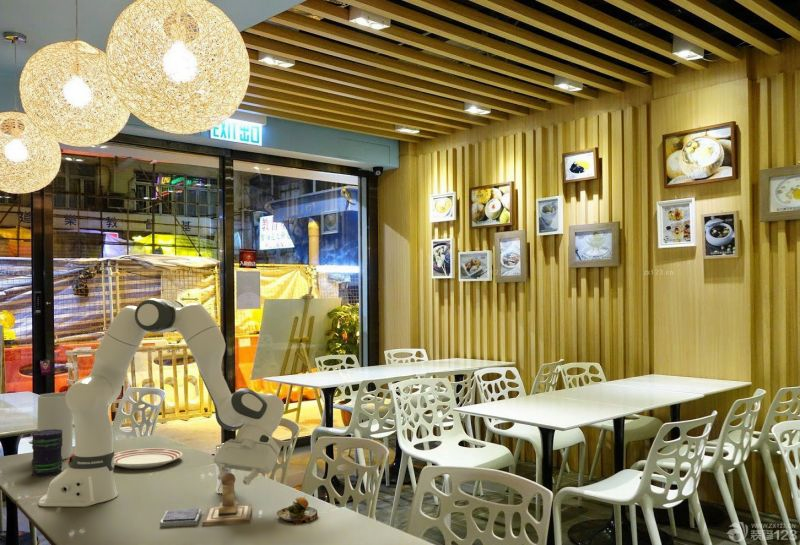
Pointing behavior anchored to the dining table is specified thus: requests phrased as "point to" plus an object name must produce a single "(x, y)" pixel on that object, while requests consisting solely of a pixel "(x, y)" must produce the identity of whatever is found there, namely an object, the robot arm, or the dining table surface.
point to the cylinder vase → (56, 419)
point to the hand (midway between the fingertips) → (232, 481)
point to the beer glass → (219, 483)
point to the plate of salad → (298, 512)
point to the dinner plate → (145, 458)
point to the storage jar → (47, 453)
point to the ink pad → (180, 518)
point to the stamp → (228, 496)
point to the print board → (240, 517)
